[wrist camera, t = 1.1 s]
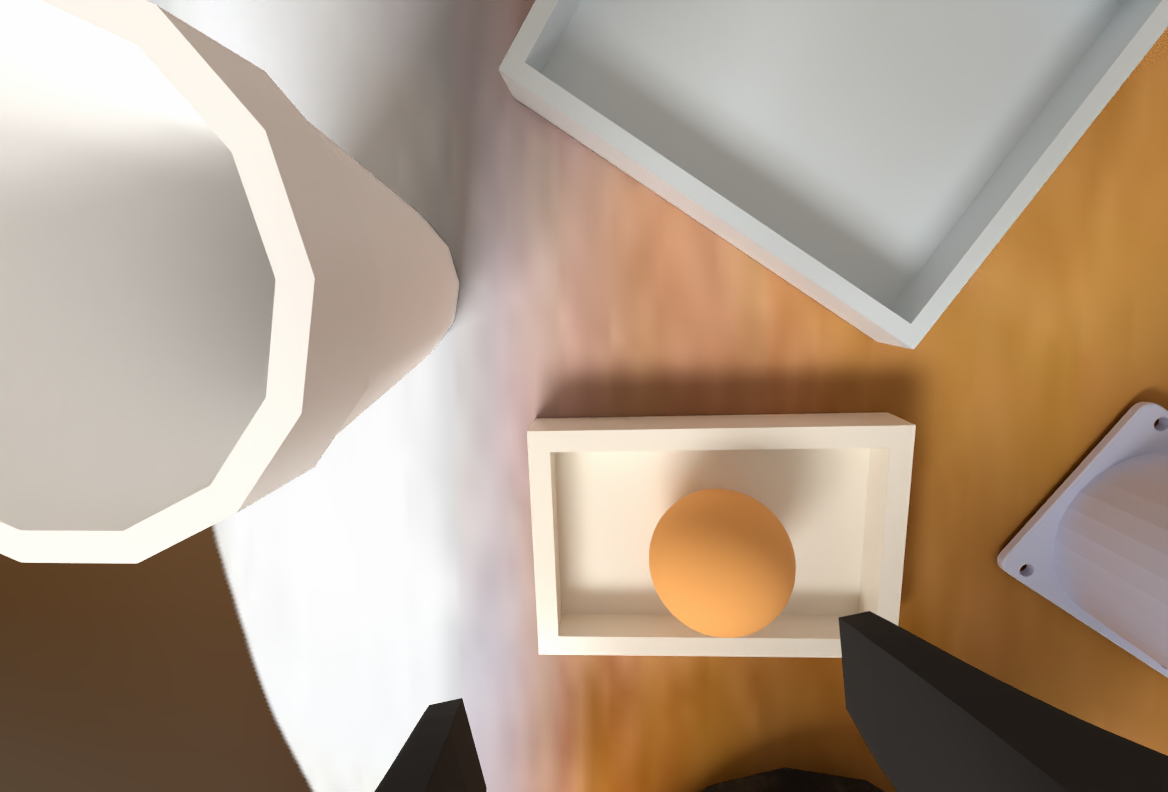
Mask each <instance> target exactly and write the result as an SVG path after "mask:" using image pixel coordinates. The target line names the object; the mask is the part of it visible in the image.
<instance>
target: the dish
mask: <svg viewBox="0 0 1168 792" xmlns="http://www.w3.org/2000/svg"><path fill="white" fill-rule="evenodd" d="M915 429H916V425H914V424H912V423H910V422H908V421H906V420H903V419H901V418H899V417H897V416H895V415H893V414H891V413H888V412H876V413H818V414H761V415H703V416H646V417H588V418H535V419H534V421H533V423H532V424H531V426H530V427H529V429H528V431H527V442H528V460H529V478H530V497H531V515H532V534H533V552H534V571H535V589H536V607H537V626H538V644H539V654H550V655H640V656H730V657H819V658H842V653H841V642H840V630H839V619H838V618H839V617H844V616H848V615H853V614H858V613H862V612H867V611H871V612H873V613H875V614H876V615H878V616H880V617H882V618H884V619H886V620H888V621H890V622H892V623H894V624H895V625H897V626H898V623H899V611H900V600H901V588H902V577H903V566H904V554H905V543H906V532H907V520H908V509H909V497H910V486H911V475H912V463H913V452H914V441H915ZM707 489H726V490H733V491H737V492H741V493H743V494H746V495H748V496H750V497H752V498H754V499H756V500H757V501H759V502H761V503H762V504H763V505H765V506H766V507H767V508H768V509H769V510H770V511H771V512H772V513H773V514H774V515H775V516H776V517H777V518H778V519H779V521H780V522H781V523H782V525H783V526H784V528H785V530H786V532H787V534H788V536H789V538H790V540H791V543H792V546H793V550H794V555H795V561H796V575H795V583H794V588H793V591H792V593H791V596H790V599H789V601H788V602H787V604H786V606H785V608H784V609H783V610H782V612H781V613H780V614H779V615H778V616H777V617H776V619H774V620H773V621H772V622H771V623H770V624H769V625H767V626H766V627H764V628H763V629H761V630H759V631H757V632H755V633H752V634H749V635H746V636H742V637H735V638H721V637H714V636H709V635H705V634H702V633H700V632H697V631H695V630H693V629H691V628H690V627H688V626H686V625H685V624H683V623H682V622H681V621H679V620H678V619H677V618H676V617H675V616H674V615H673V614H672V613H671V612H670V611H669V610H668V609H667V608H666V606H665V605H664V604H663V602H662V601H661V599H660V597H659V596H658V594H657V592H656V589H655V587H654V585H653V581H652V578H651V574H650V568H649V548H650V542H651V539H652V535H653V532H654V530H655V528H656V525H657V523H658V522H659V520H660V519H661V517H662V516H663V515H664V514H665V512H666V511H667V510H668V509H669V508H670V507H671V506H672V505H673V504H674V503H676V502H677V501H679V500H680V499H681V498H683V497H685V496H687V495H689V494H692V493H694V492H698V491H702V490H707Z"/></svg>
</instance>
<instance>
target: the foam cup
mask: <svg viewBox="0 0 1168 792" xmlns="http://www.w3.org/2000/svg"><path fill="white" fill-rule="evenodd" d="M459 286H460V284H459V280H458V277H457V273H456V270H455V266H454V263H453V260H452V256H451V253H450V249H449V247H448V246H447V245H446V244H445V242H444V241H443V240H442V239H441V238H440V236H439V235H438V234H437V233H436V232H435V231H434V229H433V228H432V227H431V226H430V225H429V223H428V222H427V221H426V220H425V219H424V218H423V217H422V216H421V215H420V214H419V213H418V212H417V211H415V210H414V209H413V208H412V207H411V206H409V205H408V204H407V203H406V202H405V201H403V200H402V199H401V198H400V197H399V196H397V195H396V194H395V193H394V192H393V191H391V190H390V189H389V188H388V187H387V186H385V185H384V184H383V183H382V182H381V181H379V180H378V179H377V178H376V177H374V176H373V175H372V174H371V173H370V172H368V171H367V170H366V169H365V168H364V167H362V166H361V165H360V164H359V163H358V162H356V161H355V160H354V159H353V158H352V157H350V156H349V155H348V154H347V153H346V152H344V151H343V150H342V149H341V148H340V147H338V146H337V145H336V144H335V143H334V142H332V141H331V140H330V139H329V138H328V137H326V136H325V135H324V134H323V133H321V132H320V131H319V130H318V129H317V128H315V127H314V126H313V125H312V124H311V123H309V122H308V121H307V120H306V119H305V118H304V116H303V115H302V114H301V113H300V112H299V111H298V109H297V108H296V107H295V106H294V105H293V104H292V102H291V101H290V100H289V99H288V98H287V97H286V95H285V94H284V93H283V92H282V91H281V90H280V88H279V87H278V86H277V85H276V84H275V83H274V81H273V80H272V79H271V78H270V77H269V76H268V74H267V73H266V72H265V71H264V70H262V69H260V68H259V67H257V66H255V65H254V64H252V63H251V62H249V61H247V60H246V59H244V58H242V57H241V56H239V55H237V54H236V53H234V52H232V51H231V50H229V49H228V48H226V47H224V46H223V45H221V44H219V43H218V42H216V41H214V40H213V39H211V38H210V37H208V36H206V35H205V34H203V33H201V32H200V31H198V30H196V29H195V28H193V27H192V26H190V25H188V24H187V23H185V22H183V21H182V20H180V19H178V18H177V17H175V16H174V15H172V14H170V13H169V12H167V11H165V10H164V9H162V8H160V7H159V6H157V5H155V4H153V3H151V2H149V1H146V0H0V553H1V554H3V555H5V556H8V557H10V558H12V559H14V560H17V561H19V562H32V563H33V562H35V563H40V562H41V563H139V562H141V561H143V560H145V559H147V558H149V557H151V556H153V555H155V554H156V553H158V552H161V551H162V550H164V549H166V548H168V547H170V546H172V545H174V544H176V543H178V542H180V541H182V540H184V539H186V538H188V537H190V536H192V535H194V534H196V533H198V532H200V531H202V530H204V529H206V528H208V527H210V526H212V525H214V524H216V523H218V522H219V521H221V520H223V519H225V518H227V517H229V516H231V515H233V514H235V513H237V512H239V511H240V510H242V509H244V508H246V507H247V506H249V505H251V504H252V503H254V502H256V501H257V500H259V499H261V498H262V497H264V496H266V495H268V494H269V493H271V492H273V491H274V490H276V489H278V488H279V487H281V486H283V485H285V484H286V483H288V482H290V481H291V480H293V479H295V478H296V477H298V476H300V475H301V474H303V473H305V472H307V471H308V470H310V469H312V468H313V467H315V465H316V464H317V462H318V461H319V459H320V458H321V457H322V455H323V454H324V452H325V451H326V449H327V448H328V446H329V445H330V443H331V442H332V440H333V439H334V437H335V436H336V435H337V434H338V433H339V432H340V431H342V430H343V429H344V428H345V427H346V426H347V425H348V424H350V423H351V422H352V421H353V420H354V419H355V418H357V417H358V416H359V415H360V414H361V413H362V412H364V411H365V410H366V409H367V408H368V407H369V406H370V405H372V404H373V403H374V402H375V401H376V400H377V399H379V398H380V397H381V396H382V395H383V394H384V393H385V392H387V391H388V390H389V389H390V388H391V387H392V386H394V385H395V384H396V383H397V382H398V381H399V380H401V379H402V378H403V377H404V376H405V375H406V374H407V373H409V372H410V371H411V370H412V369H413V368H414V367H416V366H417V365H418V364H419V363H420V362H421V361H423V360H424V359H425V358H426V357H427V356H428V355H429V354H431V352H432V351H433V350H434V349H435V348H436V347H437V345H438V344H439V342H440V341H441V339H442V338H443V337H444V335H445V334H446V332H447V331H448V329H449V328H450V326H451V325H452V324H453V322H454V319H455V313H456V306H457V300H458V293H459Z"/></svg>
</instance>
